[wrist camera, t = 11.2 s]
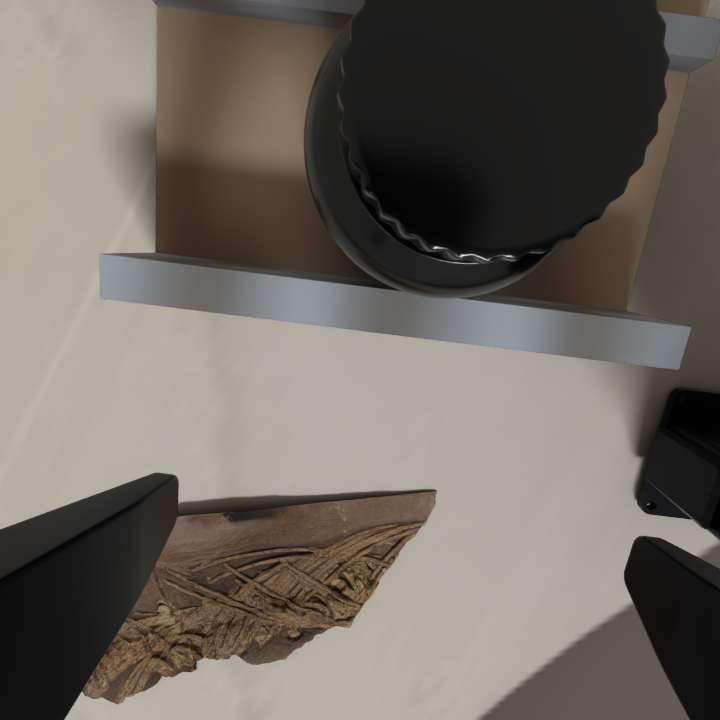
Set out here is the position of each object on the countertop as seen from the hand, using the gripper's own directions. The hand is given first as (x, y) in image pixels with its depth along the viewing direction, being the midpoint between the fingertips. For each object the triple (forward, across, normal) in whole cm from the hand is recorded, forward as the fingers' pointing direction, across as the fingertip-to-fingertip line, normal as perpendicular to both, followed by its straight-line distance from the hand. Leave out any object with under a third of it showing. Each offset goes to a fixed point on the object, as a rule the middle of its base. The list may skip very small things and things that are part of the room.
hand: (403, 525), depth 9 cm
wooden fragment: (+14, +7, +14) cm, 21 cm away
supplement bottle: (+12, 0, -8) cm, 14 cm away
